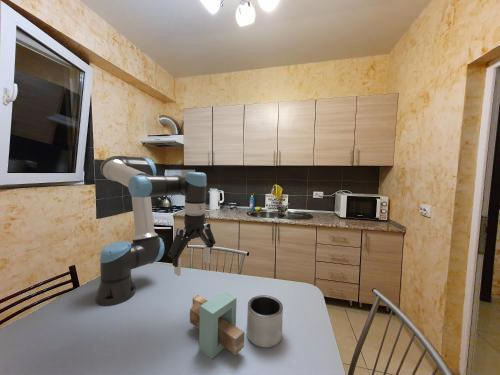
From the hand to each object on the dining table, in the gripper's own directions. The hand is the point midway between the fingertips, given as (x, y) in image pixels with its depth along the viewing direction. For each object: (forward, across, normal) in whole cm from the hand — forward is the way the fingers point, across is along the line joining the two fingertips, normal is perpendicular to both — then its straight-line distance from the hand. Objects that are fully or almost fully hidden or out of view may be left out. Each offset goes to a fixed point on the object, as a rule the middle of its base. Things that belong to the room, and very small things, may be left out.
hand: (192, 268), depth 81 cm
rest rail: (+20, +6, -1) cm, 21 cm away
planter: (+20, +11, -27) cm, 35 cm away
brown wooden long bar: (+17, -2, -15) cm, 23 cm away
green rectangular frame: (+20, -2, -17) cm, 26 cm away
